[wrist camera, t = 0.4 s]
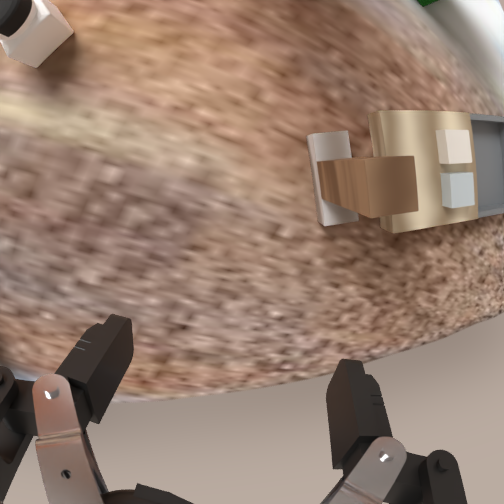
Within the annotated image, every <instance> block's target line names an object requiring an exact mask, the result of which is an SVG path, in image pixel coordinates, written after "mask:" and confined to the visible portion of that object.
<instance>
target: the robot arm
mask: <svg viewBox="0 0 504 504" xmlns="http://www.w3.org/2000/svg"><path fill="white" fill-rule="evenodd" d="M133 351H134V346H133V334H132V322H131V319H130V318H126V317H122V316H118V315H115V314H111V315H110V316H109V318H108V319H107V320H106V322H105V323H104V324H103V325H102V324H99V323H97V324H95V325H94V326H92V327H91V328H89V329H87V330H86V332H85V333H84V334H83V336H82V337H81V338H80V340H79V341H78V342H77V344H76V345H75V347H74V348H73V349H72V350H71V352H70V353H69V354H68V356H67V357H66V358H65V360H64V361H63V363H62V364H61V365H60V367H59V368H58V370H57V371H56V372H55V373H54V374H46V375H43V376H41V377H40V378H38V379H37V380H36V381H35V382H34V381H26V380H19V379H15V378H14V376H13V373H12V372H11V371H10V370H9V369H8V368H6V367H3V366H0V504H3V501H4V499H5V496H6V494H7V492H8V489H9V487H10V485H11V482H12V480H13V478H14V476H15V473H16V471H17V469H18V467H19V465H20V463H21V460H22V458H23V456H24V454H25V452H26V450H27V448H28V446H29V444H30V442H31V440H32V438H33V436H38V437H39V439H37V440H36V442H35V445H36V451H37V456H38V461H39V466H40V471H41V474H42V479H43V483H44V487H45V491H46V494H47V498H48V501H49V504H193V503H191V502H189V501H187V500H184V499H182V498H180V497H178V496H176V495H174V494H172V493H170V492H166V491H162V490H159V489H155V488H152V487H148V486H144V485H141V484H137V485H136V489H135V490H116V491H111V492H109V491H108V489H107V486H106V484H105V482H104V479H103V477H102V475H101V473H100V470H99V468H98V465H97V462H96V459H95V456H94V453H93V450H92V447H91V444H90V440H89V437H88V434H87V430H86V427H87V425H88V423H89V421H91V422H94V423H97V424H99V423H100V421H101V419H102V417H103V415H104V413H105V411H106V409H107V407H108V405H109V403H110V401H111V399H112V398H113V396H114V394H115V392H116V390H117V388H118V386H119V384H120V382H121V380H122V378H123V376H124V374H125V372H126V371H127V369H128V367H129V365H130V363H131V360H132V357H133ZM381 396H382V394H381V391H380V387H379V384H378V383H377V382H376V380H375V379H374V378H373V376H372V375H368V374H365V371H364V368H363V364H362V362H361V361H359V360H350V359H341V360H340V362H339V364H338V366H337V368H336V371H335V373H334V375H333V377H332V379H331V381H330V383H329V385H328V389H327V394H326V403H327V412H328V422H329V431H330V442H331V452H332V465H333V469H343V477H342V478H341V479H340V480H339V482H338V483H337V484H336V485H335V487H334V488H333V489H332V490H331V492H330V493H329V494H328V495H327V496H326V498H325V499H324V500H323V501H322V502H321V503H320V504H382V502H386V503H389V504H467V500H466V496H465V491H464V487H463V483H462V479H461V475H460V471H459V467H458V463H457V461H456V459H455V457H454V456H453V455H452V454H450V453H449V452H447V451H445V450H436V451H433V452H432V453H431V454H430V455H429V456H428V457H425V456H420V455H416V454H412V453H409V452H406V450H405V447H404V446H403V445H402V443H401V442H399V441H398V440H396V439H394V438H393V436H392V432H391V428H390V424H389V420H388V417H387V413H386V409H385V406H384V402H383V398H382V397H381Z"/></svg>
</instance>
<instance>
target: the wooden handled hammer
mask: <svg viewBox="0 0 504 504" xmlns="http://www.w3.org/2000/svg"><path fill="white" fill-rule="evenodd" d="M306 138H307V145H308V151H309V158H310V165H311V172H312V179H313V186H314V194H315V201H316V209H317V218H318V222H319V223H321V224H322V225H324V226H330V225H336V224H343V223H349V222H355V221H359V218H358V213H359V214H361V215H364V216H366V217H369V218H376V217H383V216H389V215H396V214H403V213H409V212H416V211H419V207H418V192H417V180H416V169H415V160H414V156H380V157H357V158H352V156H351V149H350V142H349V135H348V131H336V132H324V133H314V134H310V135H308V136H306Z"/></svg>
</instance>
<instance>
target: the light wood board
mask: <svg viewBox="0 0 504 504" xmlns="http://www.w3.org/2000/svg"><path fill="white" fill-rule="evenodd" d="M367 116H368V122H369V128H370V135H371V141H372V148H373V156H374V157H380V156H414V160H415V169H416V180H417V192H418V207H419V211H416V212H409V213H403V214H396V215H389V216H383V217H380V228H382V229H384V230H386V231H388V232H390V233H393V234H394V233H400V232H406V231H412V230H417V229H423V228H429V227H434V226H440V225H446V224H451V223H457V222H463V221H468V220H474V219H478V191H477V173H476V161H475V150H474V142H473V134H472V126H471V120H470V114H469V113H465V112H450V111H426V110H379V111H376V112H373V113H370V114H368V115H367ZM444 129H449V130H469V137H470V146H471V155H472V163H457V164H441V163H439V154H438V146H437V138H436V130H444ZM449 172H473V179H474V201H475V205H471V206H464V207H457V208H449V207H445V206H442V188H441V175H440V173H449Z"/></svg>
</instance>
